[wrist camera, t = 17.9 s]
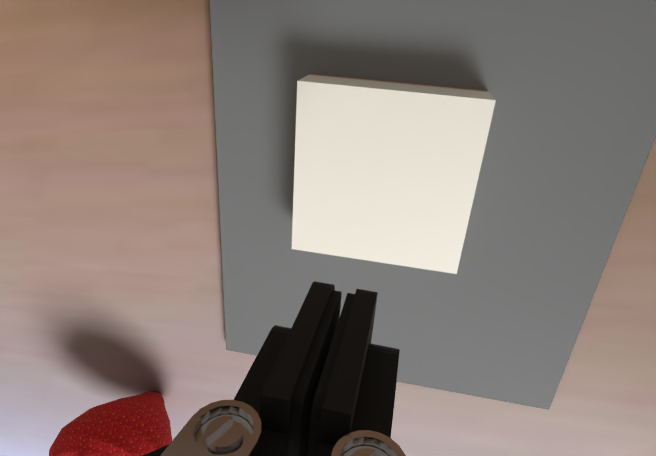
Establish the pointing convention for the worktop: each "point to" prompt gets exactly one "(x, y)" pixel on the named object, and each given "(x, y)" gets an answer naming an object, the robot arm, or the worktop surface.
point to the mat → (493, 182)
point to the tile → (387, 169)
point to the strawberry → (117, 429)
